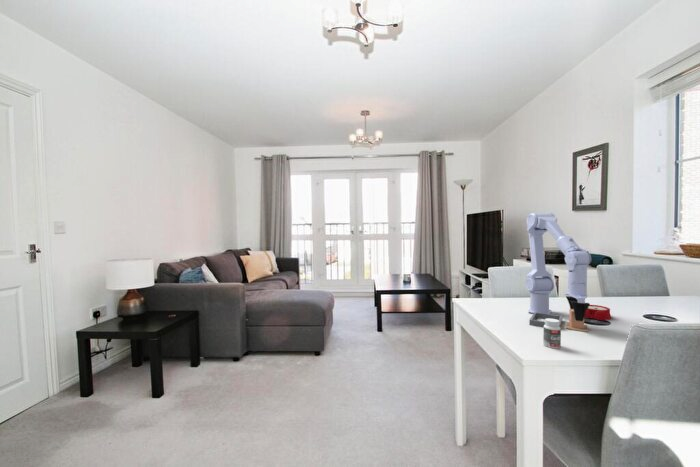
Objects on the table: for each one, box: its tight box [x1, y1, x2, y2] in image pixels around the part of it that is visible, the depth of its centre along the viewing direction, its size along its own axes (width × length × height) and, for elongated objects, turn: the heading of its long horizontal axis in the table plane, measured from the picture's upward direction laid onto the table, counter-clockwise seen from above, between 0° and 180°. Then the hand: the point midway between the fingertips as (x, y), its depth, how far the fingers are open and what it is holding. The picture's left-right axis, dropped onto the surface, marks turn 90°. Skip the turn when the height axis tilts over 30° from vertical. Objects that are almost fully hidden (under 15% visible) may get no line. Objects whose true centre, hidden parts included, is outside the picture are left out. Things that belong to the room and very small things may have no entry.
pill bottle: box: [542, 318, 562, 349], centre depth 104 cm, size 5×5×8 cm
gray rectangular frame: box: [529, 312, 563, 329], centre depth 128 cm, size 14×10×2 cm
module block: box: [568, 308, 585, 329], centre depth 122 cm, size 4×4×6 cm
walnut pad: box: [565, 321, 589, 333], centre depth 122 cm, size 9×6×1 cm
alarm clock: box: [584, 304, 612, 322], centre depth 135 cm, size 10×6×15 cm
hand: (577, 318), depth 122 cm, fingers open, 7 cm apart
